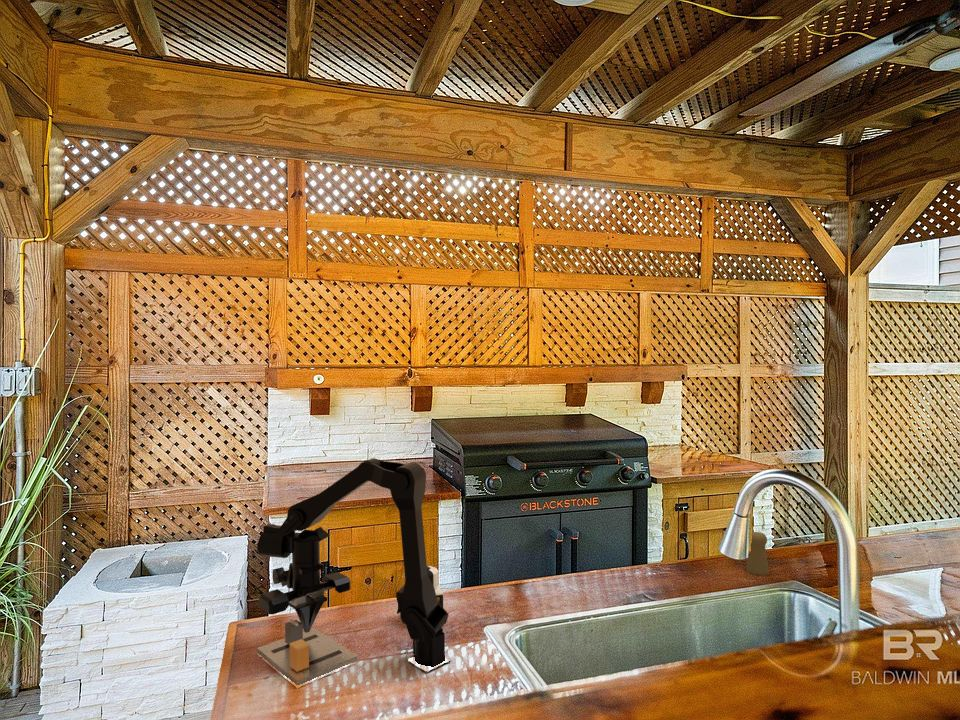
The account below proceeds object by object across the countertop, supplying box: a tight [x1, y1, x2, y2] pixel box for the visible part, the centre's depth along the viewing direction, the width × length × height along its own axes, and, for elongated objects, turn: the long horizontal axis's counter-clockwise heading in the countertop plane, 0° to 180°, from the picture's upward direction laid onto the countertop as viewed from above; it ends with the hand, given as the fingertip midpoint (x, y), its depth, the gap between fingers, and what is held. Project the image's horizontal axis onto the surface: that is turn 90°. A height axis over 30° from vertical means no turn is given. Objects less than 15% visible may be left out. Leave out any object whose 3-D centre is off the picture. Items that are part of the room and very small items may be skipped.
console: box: [256, 627, 359, 685], centre depth 118 cm, size 18×13×2 cm
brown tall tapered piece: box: [745, 531, 770, 576], centre depth 164 cm, size 6×6×11 cm
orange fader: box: [290, 639, 309, 672], centre depth 111 cm, size 3×2×4 cm
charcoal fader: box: [284, 619, 304, 645], centre depth 121 cm, size 3×2×4 cm
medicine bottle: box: [427, 565, 444, 608], centre depth 136 cm, size 7×7×12 cm
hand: (306, 631), depth 123 cm, fingers closed
